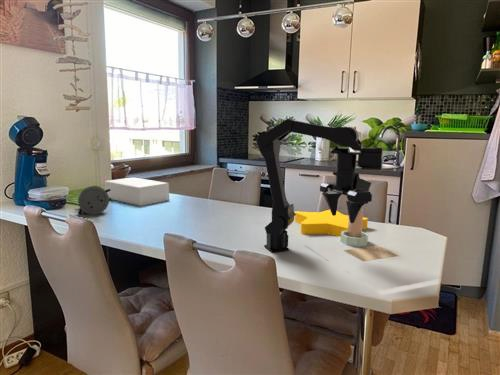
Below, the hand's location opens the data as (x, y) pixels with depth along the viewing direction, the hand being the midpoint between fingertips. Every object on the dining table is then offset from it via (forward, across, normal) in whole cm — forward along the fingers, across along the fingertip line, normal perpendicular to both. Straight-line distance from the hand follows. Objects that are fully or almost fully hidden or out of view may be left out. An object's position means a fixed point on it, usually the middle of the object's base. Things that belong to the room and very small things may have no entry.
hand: (342, 219), depth 111 cm
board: (+13, -1, -11) cm, 17 cm away
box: (+13, +111, +53) cm, 124 cm away
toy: (+13, +87, +73) cm, 115 cm away
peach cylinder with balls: (+12, +10, -13) cm, 20 cm away
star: (+14, +30, -17) cm, 37 cm away
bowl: (+13, +10, -13) cm, 21 cm away
